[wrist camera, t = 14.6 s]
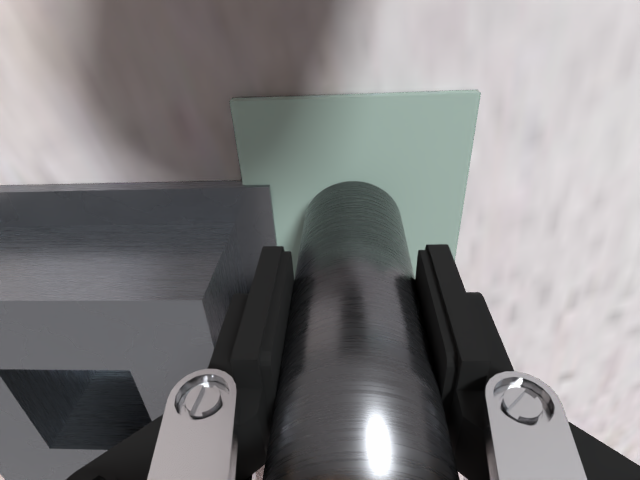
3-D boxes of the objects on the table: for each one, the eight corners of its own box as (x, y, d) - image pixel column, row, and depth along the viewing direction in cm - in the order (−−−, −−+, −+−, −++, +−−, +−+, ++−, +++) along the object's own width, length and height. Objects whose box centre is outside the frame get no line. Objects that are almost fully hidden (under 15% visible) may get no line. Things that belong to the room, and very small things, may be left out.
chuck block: (55, 409, 24) (-6, 502, 20) (-83, 187, 17) (-226, 262, 12) (400, 414, 23) (412, 515, 19) (422, 176, 15) (451, 256, 11)
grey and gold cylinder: (290, 173, 14) (150, 723, 4) (414, 171, 14) (608, 752, 4) (299, 271, 16) (223, 783, 6) (406, 270, 16) (513, 806, 6)
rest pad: (261, 285, 19) (259, 291, 18) (232, 97, 14) (229, 101, 14) (448, 284, 18) (450, 290, 18) (477, 89, 14) (481, 92, 13)
